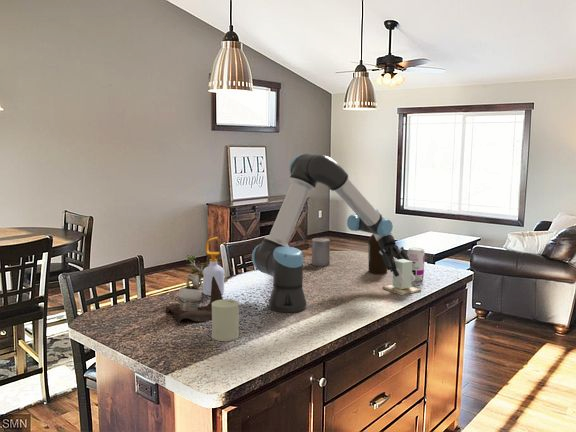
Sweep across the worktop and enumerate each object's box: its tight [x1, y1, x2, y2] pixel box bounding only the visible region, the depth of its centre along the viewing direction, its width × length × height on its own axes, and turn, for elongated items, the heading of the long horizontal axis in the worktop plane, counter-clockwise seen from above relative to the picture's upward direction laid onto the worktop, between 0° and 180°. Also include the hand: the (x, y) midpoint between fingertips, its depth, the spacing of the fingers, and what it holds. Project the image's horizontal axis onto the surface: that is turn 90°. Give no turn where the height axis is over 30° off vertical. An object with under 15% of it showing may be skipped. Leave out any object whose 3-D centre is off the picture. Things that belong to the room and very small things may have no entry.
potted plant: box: [165, 254, 223, 324], centre depth 199 cm, size 20×19×25 cm
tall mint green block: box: [392, 259, 412, 289], centre depth 234 cm, size 6×6×12 cm
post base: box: [382, 284, 422, 296], centre depth 234 cm, size 12×12×8 cm
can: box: [211, 298, 240, 342], centre depth 175 cm, size 9×9×12 cm
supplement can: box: [406, 247, 426, 282], centre depth 253 cm, size 8×8×15 cm
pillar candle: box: [311, 237, 331, 267], centre depth 282 cm, size 10×10×15 cm
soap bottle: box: [202, 236, 225, 297], centre depth 224 cm, size 9×9×25 cm
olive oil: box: [367, 233, 388, 275], centre depth 266 cm, size 11×11×25 cm
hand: (407, 281), depth 231 cm, fingers closed on tall mint green block, 6 cm apart
